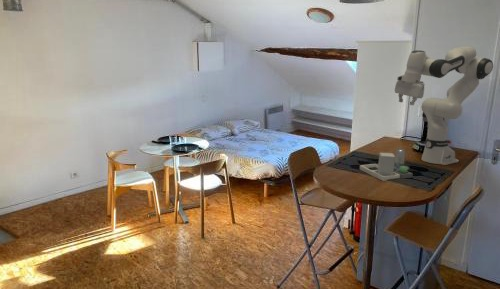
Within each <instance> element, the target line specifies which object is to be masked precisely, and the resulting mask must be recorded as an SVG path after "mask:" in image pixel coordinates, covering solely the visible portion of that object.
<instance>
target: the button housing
mask: <svg viewBox="0 0 500 289" xmlns="http://www.w3.org/2000/svg"><path fill="white" fill-rule="evenodd" d="M394 172H395V173H397V174H399V175H400V178H399V179H403V180H404V179H412V178H413V175H414V174H413V172H410V171H408V170H407V173H406V174H402V173H400V172H399V170H394Z"/></svg>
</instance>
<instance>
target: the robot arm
mask: <svg viewBox="0 0 500 289" xmlns="http://www.w3.org/2000/svg"><path fill="white" fill-rule="evenodd" d="M493 68H494V64H493V61H492V60H491V59H489V58H486V57H480V56H477V50H476V49H475V47H472V46H469V45H468V46H466V45H465V46H458V47H455V48H452V49H450V50H448V51H447V52H446V54H445V56H444V58H443V59H442V58H441V59H440V58H431V57H429V56H428V55H427V54H426V51H424V50H419V49H418V50H413V51H411V52H410V53H409V55H408V58H407V61H406V69H405V71H404V74H402V75H400V76H397V79H396V80H397V81H396V82H395V88H394V93H395V94H398V102H399V103H403V102H404V99H403V96H407V97H411V98H412V99H411V101H409V105H410V106H414V105H415V103H416V102H417V100H418V99H422V98H423V97H424V94H425V83H424V81H422V80H421V78H422V75H423V76H429V77H433V78H436V79H437V78H438V79H442V78H443V77H445V76H446V75H448V73H450V72H452V71H455V72H457V73H459V74H462V75H463V76H462V77H461V78H460V79H459V80H457V81H456V82H455V83H454V84H453V85H451V87H449V88H448V89H447V90H446V98H437V97H429V98H425V99H424V100H423V101H422V103H421V110H422V112H423V113H424V115H425V117H426V121H427V134H426V135H427V137H426V139H425V146H424V149H423V153H422V155H421V160H422V161H423V162H426V163H429V164H434V165H435V164H437V165H442V166H446V165H451V164H455V163H458V162H459V159H457V158H456V152H455V150H453V148H451V147H450V146H449V145H451V144H452V142H453V141H452V140H450V139H448V132H449V127H448V125H447V124H446V123H445V121H444V119H445V120H446V119H448V120H456V119H458V118H460V117H461V115H462V113H463V107H462V103H463V102H464V101H465V100H466V99H467V98H468V97H469V96H470V95H472V94H473V92H474V91H476V89H477V87H478V86H479V84H480V80H484V79H485V78H486V77H488V76H489V74H490V73H492V71H493ZM459 163H460V162H459Z"/></svg>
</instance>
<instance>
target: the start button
mask: <svg viewBox="0 0 500 289" xmlns="http://www.w3.org/2000/svg"><path fill="white" fill-rule="evenodd" d="M406 166H407V165H404V166H400V170H399V172H400V173H402V174H406V173H407V171H408V170H409V169H408V167H409V166H407V167H406ZM407 169H408V170H407Z"/></svg>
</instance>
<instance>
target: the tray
mask: <svg viewBox="0 0 500 289" xmlns="http://www.w3.org/2000/svg"><path fill="white" fill-rule="evenodd" d="M394 166H395V163H394ZM405 166H406V167H408V169H407V171H408V170H410V166H407V165H405ZM396 170H400V168H396V167H394V171H396Z"/></svg>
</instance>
